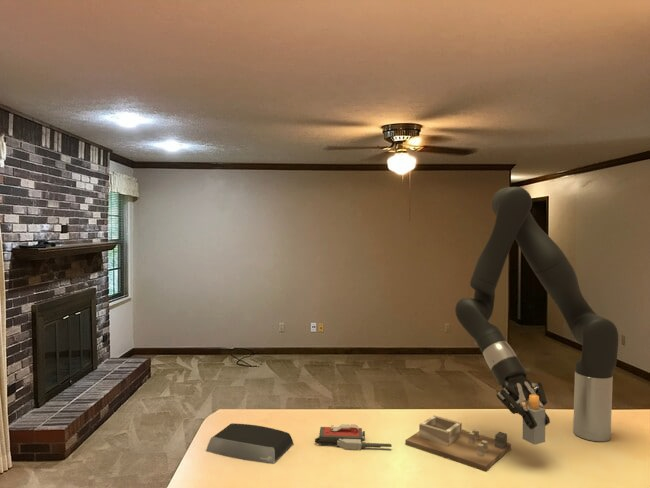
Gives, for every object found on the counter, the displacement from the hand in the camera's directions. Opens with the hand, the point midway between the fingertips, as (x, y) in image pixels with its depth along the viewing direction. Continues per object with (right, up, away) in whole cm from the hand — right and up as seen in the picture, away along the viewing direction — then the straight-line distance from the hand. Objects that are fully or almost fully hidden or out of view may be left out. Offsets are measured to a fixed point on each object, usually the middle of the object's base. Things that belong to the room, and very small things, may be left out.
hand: (540, 425), depth 122 cm
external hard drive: (-71, -10, +10) cm, 72 cm away
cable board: (-17, -9, +12) cm, 22 cm away
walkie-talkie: (-44, -10, +13) cm, 47 cm away
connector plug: (-1, -4, +2) cm, 5 cm away
